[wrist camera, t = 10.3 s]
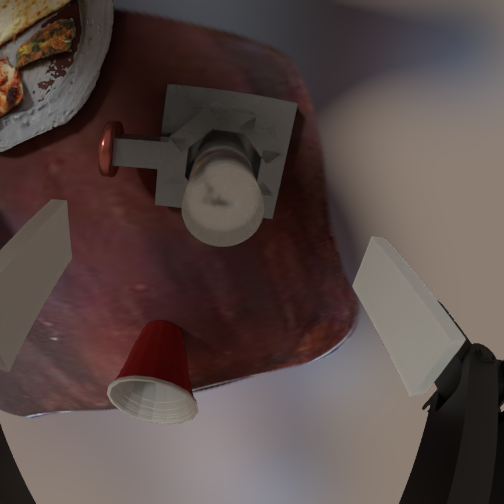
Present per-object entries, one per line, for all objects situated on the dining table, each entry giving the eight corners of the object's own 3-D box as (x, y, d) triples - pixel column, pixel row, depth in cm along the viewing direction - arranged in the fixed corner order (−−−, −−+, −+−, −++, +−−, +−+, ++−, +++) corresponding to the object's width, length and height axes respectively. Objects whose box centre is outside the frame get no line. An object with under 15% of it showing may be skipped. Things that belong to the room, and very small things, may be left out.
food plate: (-31, 171, 27) (-47, 179, 24) (-53, 19, 16) (-68, 19, 13) (136, 100, 28) (127, 102, 25) (111, -76, 16) (102, -88, 13)
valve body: (128, 81, 26) (103, 82, 20) (293, 102, 29) (312, 107, 23) (119, 194, 32) (97, 221, 26) (269, 211, 35) (280, 242, 29)
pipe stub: (201, 128, 28) (185, 165, 16) (248, 134, 28) (271, 176, 16) (195, 172, 30) (178, 242, 18) (241, 178, 30) (256, 250, 18)
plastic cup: (114, 340, 42) (95, 407, 32) (143, 292, 38) (124, 365, 28) (178, 369, 46) (172, 436, 36) (215, 329, 42) (216, 402, 32)
